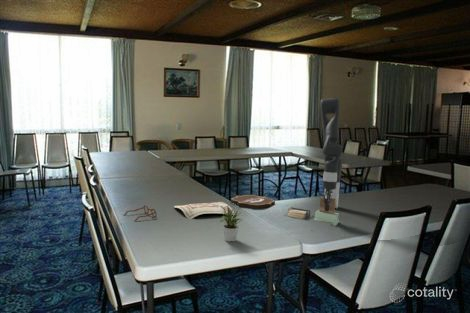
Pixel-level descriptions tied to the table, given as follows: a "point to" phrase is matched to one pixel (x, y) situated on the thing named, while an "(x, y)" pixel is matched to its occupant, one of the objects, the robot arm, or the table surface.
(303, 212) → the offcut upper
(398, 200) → the table surface
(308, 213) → the offcut rack
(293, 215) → the offcut lower
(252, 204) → the decorative plaque
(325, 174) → the robot arm
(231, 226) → the house plant
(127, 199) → the table surface
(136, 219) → the glasses
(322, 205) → the walnut sheet
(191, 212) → the poster
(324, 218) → the slotted stand
